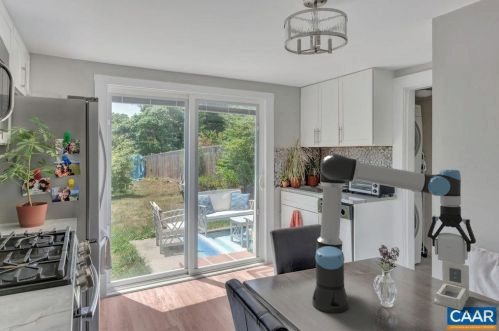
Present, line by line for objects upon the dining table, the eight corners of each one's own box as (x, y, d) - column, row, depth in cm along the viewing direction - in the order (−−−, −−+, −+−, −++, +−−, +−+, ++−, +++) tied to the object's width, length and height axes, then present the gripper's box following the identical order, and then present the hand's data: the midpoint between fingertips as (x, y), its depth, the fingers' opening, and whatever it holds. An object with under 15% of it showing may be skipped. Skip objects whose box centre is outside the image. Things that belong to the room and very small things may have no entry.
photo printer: (436, 260, 136) (435, 232, 136) (439, 257, 139) (439, 230, 138) (463, 265, 128) (463, 236, 128) (466, 263, 131) (466, 234, 130)
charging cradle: (433, 303, 131) (433, 270, 131) (443, 289, 144) (443, 260, 144) (461, 310, 124) (461, 276, 124) (469, 296, 137) (469, 264, 137)
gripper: (484, 206, 128) (485, 259, 128) (423, 202, 143) (424, 249, 144) (481, 208, 122) (482, 264, 123) (418, 204, 138) (419, 253, 138)
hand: (450, 256), depth 133 cm, fingers closed on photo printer, 10 cm apart
